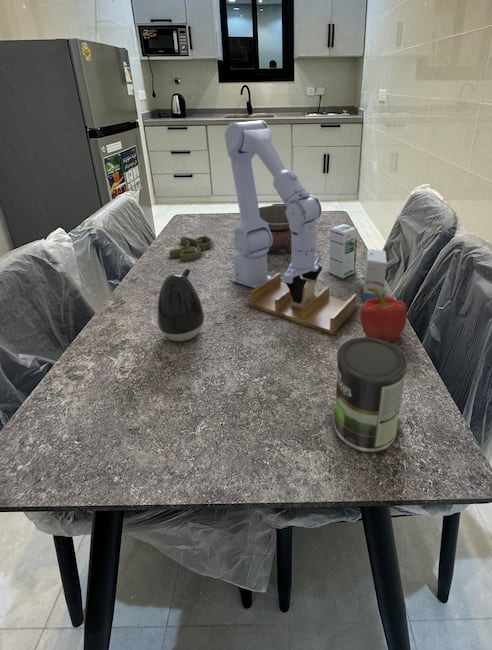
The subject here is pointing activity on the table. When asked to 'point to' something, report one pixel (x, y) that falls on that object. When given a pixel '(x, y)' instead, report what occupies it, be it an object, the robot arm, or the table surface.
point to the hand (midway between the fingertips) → (302, 296)
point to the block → (306, 293)
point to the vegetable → (383, 317)
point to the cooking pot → (277, 227)
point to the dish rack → (315, 314)
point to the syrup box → (342, 250)
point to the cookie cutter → (189, 253)
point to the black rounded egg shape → (179, 308)
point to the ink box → (374, 273)
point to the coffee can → (368, 393)
